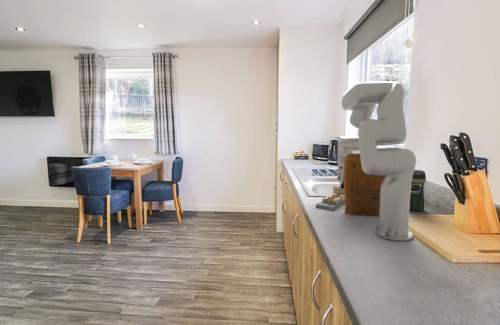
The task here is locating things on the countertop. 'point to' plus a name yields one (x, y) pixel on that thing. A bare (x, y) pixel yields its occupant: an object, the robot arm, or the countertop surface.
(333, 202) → the ginger root
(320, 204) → the board
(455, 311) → the countertop surface
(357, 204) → the pancake mix bag
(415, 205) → the coffee jar
